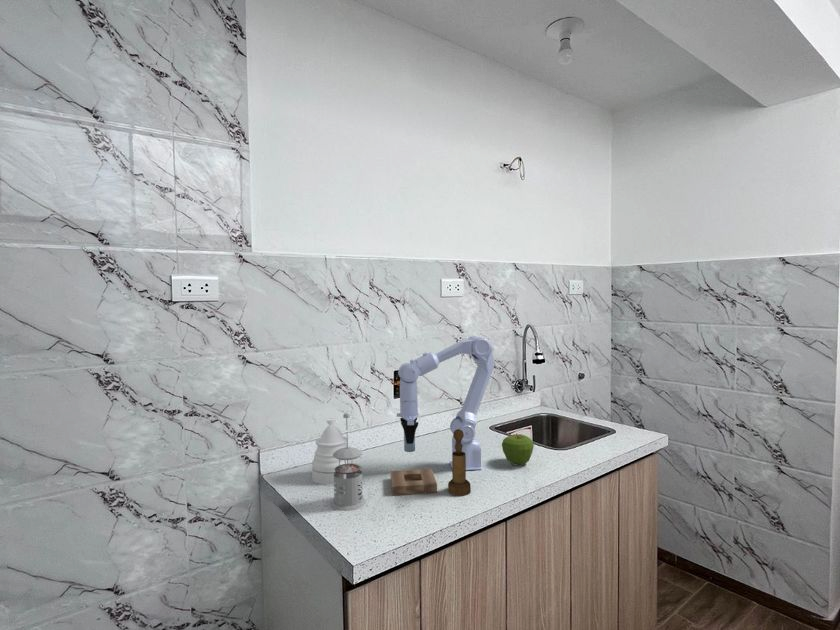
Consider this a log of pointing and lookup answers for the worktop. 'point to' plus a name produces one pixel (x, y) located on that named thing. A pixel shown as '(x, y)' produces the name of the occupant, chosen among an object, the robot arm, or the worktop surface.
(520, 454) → the apple
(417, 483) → the socket block
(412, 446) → the peg
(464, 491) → the mortar and pestle
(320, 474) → the honey pot
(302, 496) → the worktop surface
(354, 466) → the french press
